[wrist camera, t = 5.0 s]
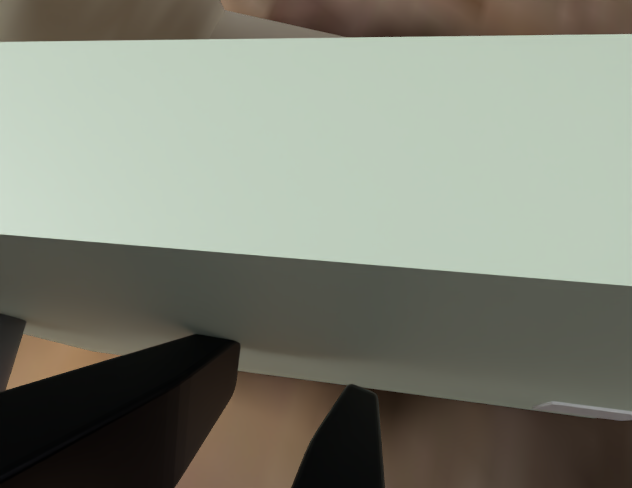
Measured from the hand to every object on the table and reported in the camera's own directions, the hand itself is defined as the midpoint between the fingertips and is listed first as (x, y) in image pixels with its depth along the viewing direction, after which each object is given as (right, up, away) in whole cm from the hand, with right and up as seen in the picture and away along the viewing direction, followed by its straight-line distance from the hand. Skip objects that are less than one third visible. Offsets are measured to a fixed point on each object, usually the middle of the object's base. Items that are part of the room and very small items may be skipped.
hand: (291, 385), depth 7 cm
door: (0, -1, +5) cm, 5 cm away
